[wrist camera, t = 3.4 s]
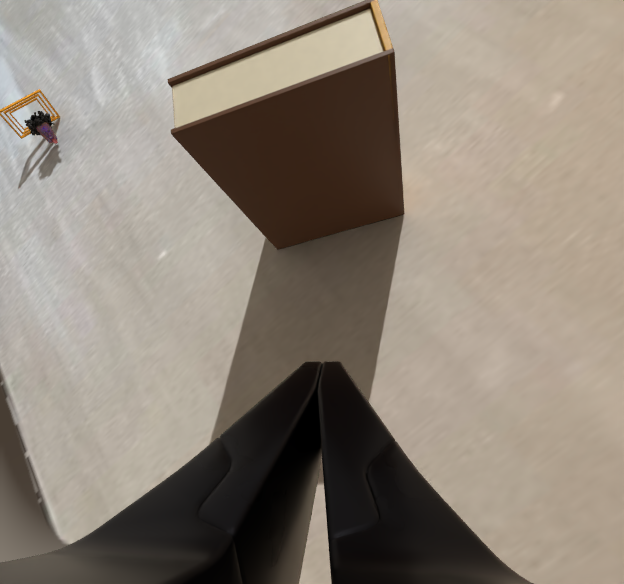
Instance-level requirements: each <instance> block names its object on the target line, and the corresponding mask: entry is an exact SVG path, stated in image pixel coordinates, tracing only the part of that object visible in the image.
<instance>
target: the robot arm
mask: <svg viewBox="0 0 624 584" xmlns="http://www.w3.org/2000/svg"><path fill="white" fill-rule="evenodd" d="M321 458H322V463H323V476H324V489H325V502H326V515H327V528H328V541H329V554H330V568H331V581H332V584H533V583H531V582H529V581H527V580H526V579H524V578H523V577H521V576H520V575H518V574H517V573H516V572H514V571H513V570H512V569H510V568H509V567H508V566H507V565H506V564H504V563H503V562H502V561H501V560H500V559H499V558H498V557H497V556H496V555H495V554H494V553H493V552H492V551H491V550H490V549H489V548H488V547H487V546H486V545H485V544H484V543H483V542H482V541H481V540H480V538H479V537H478V536H477V535H476V534H475V533H474V532H473V531H472V530H471V529H470V528H469V527H468V526H467V524H466V523H465V522H464V521H463V520H462V519H461V518H460V517H459V516H458V515H457V514H456V513H455V511H454V510H453V509H452V508H451V507H450V506H449V505H448V504H447V503H446V502H445V501H444V500H443V499H442V497H441V496H440V495H439V494H438V493H437V492H436V491H435V490H434V489H433V487H432V486H431V485H430V484H429V483H428V482H427V481H426V480H425V478H424V477H423V476H422V475H421V474H420V473H419V472H418V470H417V469H416V468H415V466H414V465H413V464H412V462H411V461H410V460H409V458H408V457H407V456H406V454H405V453H404V452H403V450H402V449H401V447H400V446H399V445H398V443H397V442H396V441H395V439H394V438H393V436H392V435H391V433H390V432H389V431H388V429H387V428H386V426H385V425H384V423H383V422H382V421H381V419H380V418H379V416H378V415H377V414H376V412H375V411H374V409H373V408H372V406H371V405H370V404H369V402H368V401H367V399H366V398H365V396H364V395H363V394H362V392H361V391H360V389H359V388H358V386H357V385H356V384H355V382H354V381H353V379H352V378H351V377H350V375H349V374H348V372H347V371H346V369H345V368H344V367H343V365H342V364H341V363H340V362H338V361H332V362H324V363H323V364H322V363H321V362H305V363H304V364H302V365H301V366H300V367H299V368H298V369H297V370H295V371H294V372H293V373H292V374H291V375H290V376H288V377H287V378H286V379H285V380H284V381H283V382H282V383H280V384H279V385H278V386H277V387H276V388H275V389H273V390H272V391H271V392H270V393H269V394H268V395H267V396H265V397H264V398H263V399H262V400H261V401H260V402H258V403H257V404H256V405H255V406H254V407H253V408H251V409H250V410H249V411H248V412H247V413H246V414H245V415H243V416H242V417H241V418H240V419H239V420H238V421H236V422H235V423H234V424H233V425H232V426H231V427H230V428H228V429H227V430H226V431H225V432H224V433H223V434H221V435H220V438H217V439H215V440H214V441H213V442H212V443H211V444H210V445H209V446H207V447H206V448H205V449H204V450H203V451H201V452H200V453H199V454H198V455H197V456H195V457H194V458H193V459H192V460H190V461H189V462H188V463H187V464H186V465H184V466H183V467H182V468H180V469H179V470H178V471H176V472H175V473H174V474H172V475H171V476H170V477H168V478H167V479H166V480H164V481H163V482H162V483H160V484H159V485H157V486H156V487H155V488H153V489H152V490H150V491H149V492H148V493H146V494H145V495H143V496H142V497H141V498H139V499H138V500H137V501H135V502H134V503H132V504H131V505H130V506H128V507H127V508H125V509H124V510H123V511H121V512H120V513H118V514H117V515H116V516H114V517H113V518H112V519H110V520H109V521H107V522H106V523H105V524H103V525H102V526H100V527H99V528H98V529H96V530H95V531H93V532H92V533H90V534H89V535H87V536H85V537H84V538H82V539H80V540H78V541H76V542H75V543H72V544H70V545H68V546H66V547H63V548H61V549H58V550H55V551H52V552H49V553H46V554H42V555H37V556H32V557H27V558H22V559H17V560H12V561H7V562H2V563H0V584H299V580H300V574H301V569H302V563H303V558H304V553H305V547H306V542H307V536H308V531H309V525H310V520H311V514H312V509H313V503H314V498H315V493H316V487H317V482H318V476H319V471H320V465H321Z"/></svg>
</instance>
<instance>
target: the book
mask: <svg viewBox="0 0 624 584" xmlns="http://www.w3.org/2000/svg"><path fill="white" fill-rule="evenodd" d="M168 84H169V85H170V86H171V88H172V93H173V108H174V123H175V128H174V129H172V130H171V134H172V135H173V137H174V138H175V139H176V140H177V141H178V142H179V143H180V144H181V145H182V146H183V147H184V148H185V150H186V151H187V152H188V153H189V154H190V155H191V156H192V157H193V158H194V159H195V160H196V162H197V163H198V164H199V165H200V166H201V167H202V168H203V169H204V170H205V171H206V172H207V174H208V175H209V176H210V177H211V178H212V179H213V180H214V181H215V182H216V183H217V184H218V186H219V187H220V188H221V189H222V190H223V191H224V192H225V193H226V194H227V195H228V196H229V198H230V199H231V200H232V201H233V202H234V203H235V204H236V205H237V206H238V207H239V208H240V210H241V211H242V212H243V213H244V214H245V215H246V216H247V217H248V218H249V219H250V220H251V221H252V223H253V224H254V225H255V226H256V227H257V228H258V229H259V230H260V231H261V232H262V233H263V235H264V236H265V237H266V238H267V239H268V240H269V241H270V242H271V243H272V244H273V245H274V247H275V248H276V249H277V250H278V249H281V248H285V247H288V246H292V245H296V244H299V243H303V242H306V241H310V240H313V239H317V238H321V237H324V236H328V235H331V234H335V233H338V232H342V231H346V230H349V229H353V228H356V227H360V226H363V225H367V224H371V223H374V222H378V221H381V220H385V219H388V218H392V217H396V216H399V215H403V214H404V200H403V184H402V168H401V151H400V135H399V118H398V102H397V85H396V69H395V53H394V49H393V46H392V43H391V40H390V37H389V34H388V31H387V28H386V25H385V22H384V19H383V16H382V13H381V10H380V7H379V4H378V1H377V0H365V1H362V2H360V3H357V4H355V5H352V6H350V7H347V8H345V9H342V10H340V11H337V12H335V13H332V14H330V15H327V16H325V17H322V18H320V19H317V20H315V21H312V22H310V23H307V24H305V25H302V26H300V27H297V28H295V29H292V30H290V31H287V32H285V33H282V34H280V35H277V36H275V37H272V38H270V39H267V40H265V41H262V42H260V43H257V44H255V45H252V46H250V47H247V48H245V49H242V50H240V51H237V52H235V53H232V54H230V55H227V56H225V57H222V58H220V59H217V60H215V61H212V62H210V63H207V64H205V65H202V66H200V67H197V68H195V69H192V70H190V71H187V72H185V73H182V74H180V75H177V76H175V77H172V78H170V79H168Z"/></svg>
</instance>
